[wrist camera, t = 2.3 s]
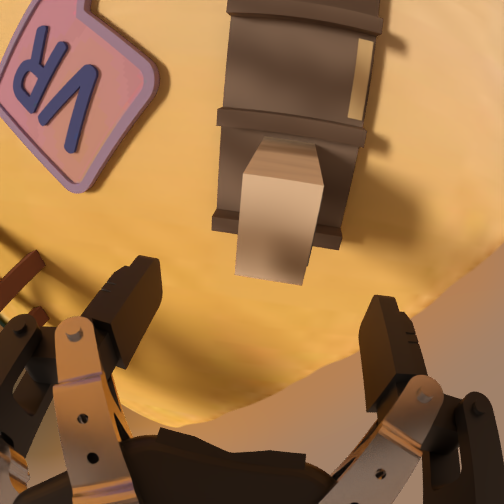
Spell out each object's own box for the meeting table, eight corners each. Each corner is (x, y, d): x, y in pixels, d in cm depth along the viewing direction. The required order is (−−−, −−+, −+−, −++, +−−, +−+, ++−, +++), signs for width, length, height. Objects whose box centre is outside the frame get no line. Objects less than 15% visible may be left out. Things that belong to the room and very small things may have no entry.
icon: (212, 27, 17) (79, 202, 26) (217, 30, 18) (87, 196, 27) (74, -59, 11) (-14, 99, 20) (83, -56, 12) (-5, 97, 22)
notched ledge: (246, -76, 12) (240, -89, 10) (379, -59, 11) (386, -70, 9) (219, 216, 26) (211, 230, 24) (335, 234, 25) (338, 250, 23)
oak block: (264, 136, 21) (242, 173, 13) (316, 144, 20) (327, 186, 13) (257, 206, 24) (235, 274, 16) (304, 213, 24) (304, 285, 16)
